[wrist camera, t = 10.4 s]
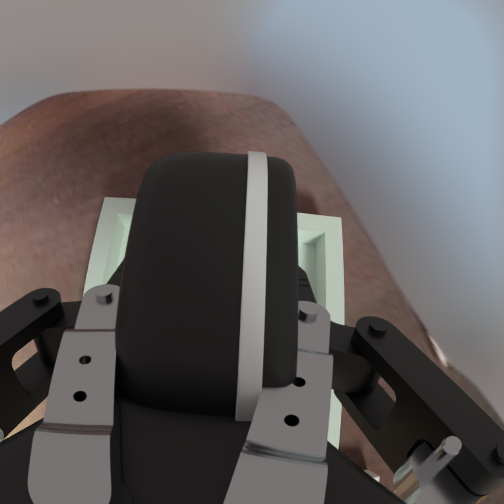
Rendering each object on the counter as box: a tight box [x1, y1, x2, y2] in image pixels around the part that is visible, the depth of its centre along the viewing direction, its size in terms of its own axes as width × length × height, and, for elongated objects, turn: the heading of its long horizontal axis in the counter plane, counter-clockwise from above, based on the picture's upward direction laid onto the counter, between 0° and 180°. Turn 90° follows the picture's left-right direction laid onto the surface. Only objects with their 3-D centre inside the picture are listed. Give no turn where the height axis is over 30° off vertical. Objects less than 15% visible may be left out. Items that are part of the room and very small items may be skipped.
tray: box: [83, 197, 344, 449], centre depth 19 cm, size 16×16×3 cm
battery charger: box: [115, 151, 299, 421], centre depth 11 cm, size 7×4×11 cm, turn 178°
